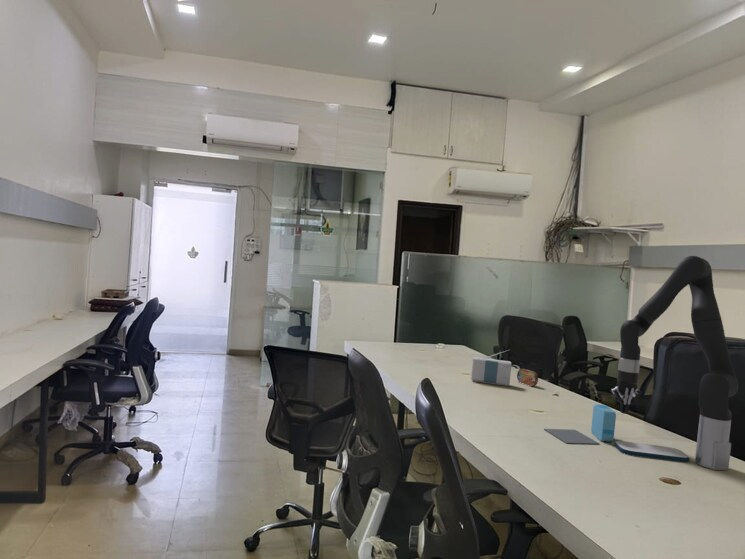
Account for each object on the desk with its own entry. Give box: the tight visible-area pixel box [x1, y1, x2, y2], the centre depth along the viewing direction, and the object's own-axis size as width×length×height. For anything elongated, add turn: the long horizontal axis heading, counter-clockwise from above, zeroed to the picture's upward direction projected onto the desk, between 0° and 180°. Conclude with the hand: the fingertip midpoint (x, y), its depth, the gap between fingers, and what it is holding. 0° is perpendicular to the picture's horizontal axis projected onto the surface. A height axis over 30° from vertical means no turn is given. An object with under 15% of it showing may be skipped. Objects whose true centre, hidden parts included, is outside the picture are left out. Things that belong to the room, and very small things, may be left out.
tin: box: [516, 368, 539, 387], centre depth 298 cm, size 15×3×8 cm, turn 25°
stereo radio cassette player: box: [470, 349, 512, 387], centre depth 292 cm, size 21×8×20 cm, turn 73°
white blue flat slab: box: [614, 440, 690, 463], centre depth 191 cm, size 24×12×2 cm, turn 83°
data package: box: [590, 403, 617, 443], centre depth 205 cm, size 12×4×12 cm, turn 175°
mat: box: [543, 428, 600, 445], centre depth 203 cm, size 16×14×1 cm
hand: (623, 413), depth 207 cm, fingers closed
